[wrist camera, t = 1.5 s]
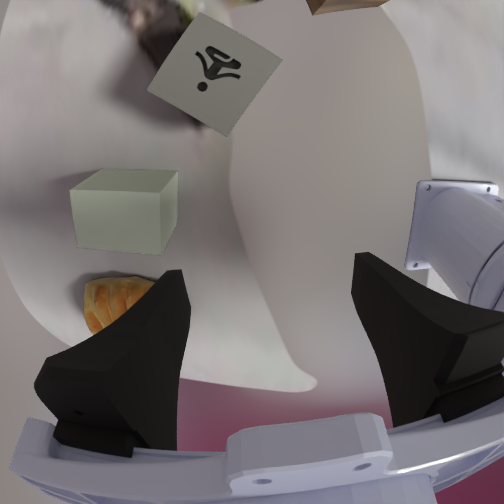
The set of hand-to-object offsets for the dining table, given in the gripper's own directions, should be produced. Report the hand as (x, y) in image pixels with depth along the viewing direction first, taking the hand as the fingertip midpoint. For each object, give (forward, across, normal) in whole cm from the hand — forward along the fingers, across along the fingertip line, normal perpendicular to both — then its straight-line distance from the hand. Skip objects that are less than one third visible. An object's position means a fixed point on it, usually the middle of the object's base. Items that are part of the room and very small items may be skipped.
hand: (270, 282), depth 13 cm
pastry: (+11, +12, +8) cm, 18 cm away
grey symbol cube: (+11, +2, -9) cm, 14 cm away
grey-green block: (+11, +9, -1) cm, 14 cm away
